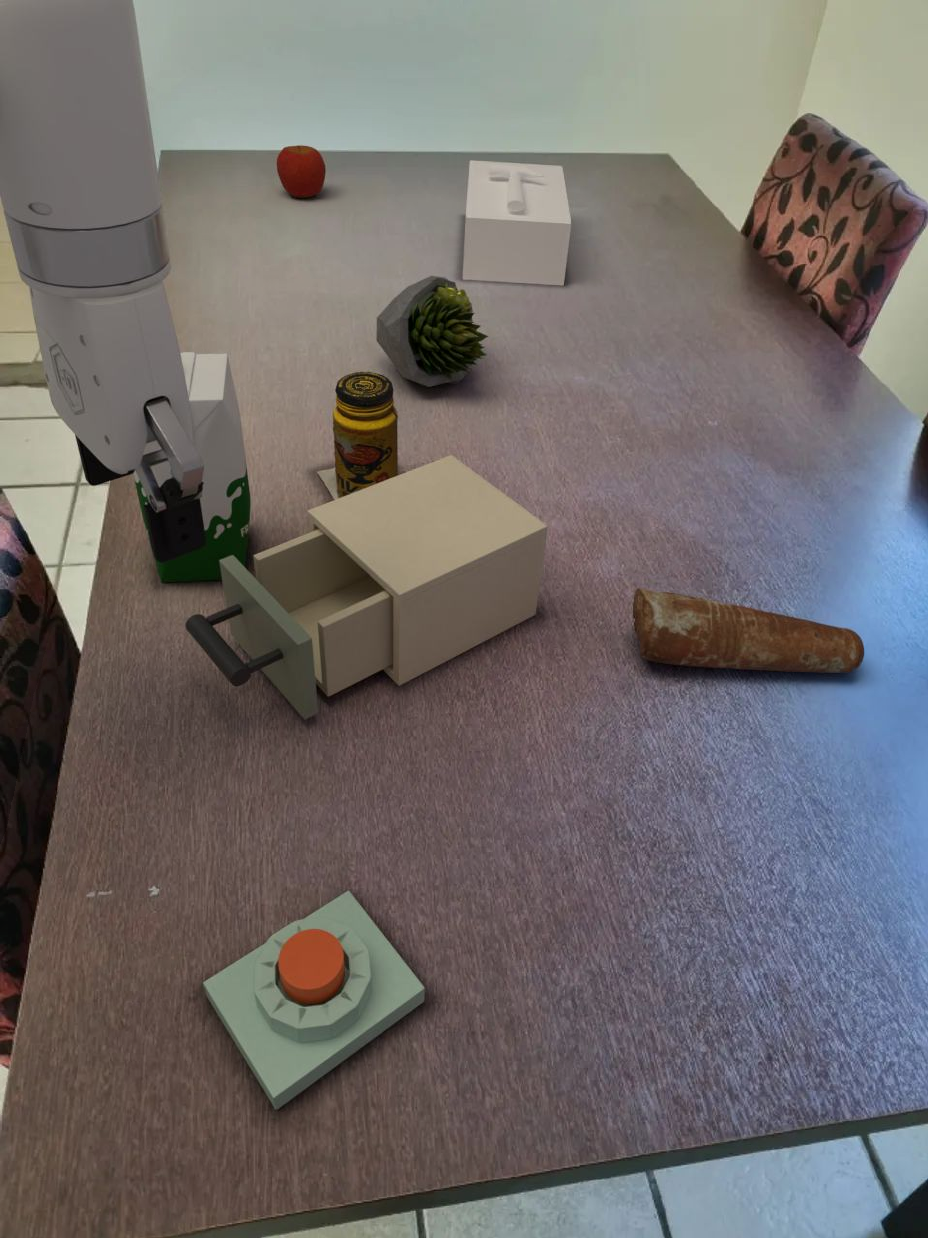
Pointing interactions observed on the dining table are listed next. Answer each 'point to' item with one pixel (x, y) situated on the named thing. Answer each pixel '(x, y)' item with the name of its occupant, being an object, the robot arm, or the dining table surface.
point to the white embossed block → (516, 223)
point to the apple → (301, 170)
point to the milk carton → (211, 470)
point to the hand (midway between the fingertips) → (144, 513)
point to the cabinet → (440, 558)
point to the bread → (738, 636)
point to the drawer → (301, 620)
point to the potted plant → (430, 332)
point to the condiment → (362, 434)
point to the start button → (311, 966)
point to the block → (313, 1033)
